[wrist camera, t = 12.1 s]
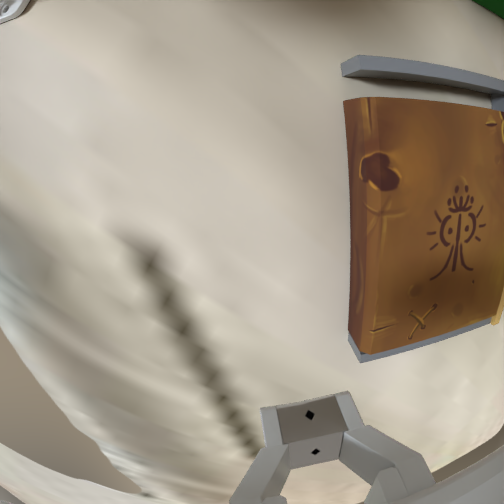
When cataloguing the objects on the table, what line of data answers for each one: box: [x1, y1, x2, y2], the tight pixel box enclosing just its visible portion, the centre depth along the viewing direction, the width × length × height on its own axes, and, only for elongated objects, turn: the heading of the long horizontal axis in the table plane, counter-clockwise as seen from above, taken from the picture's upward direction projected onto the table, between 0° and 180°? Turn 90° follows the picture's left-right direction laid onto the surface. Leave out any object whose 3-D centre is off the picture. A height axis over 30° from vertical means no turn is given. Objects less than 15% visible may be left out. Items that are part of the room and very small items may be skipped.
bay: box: [341, 55, 504, 363], centre depth 26 cm, size 20×28×5 cm
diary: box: [343, 97, 504, 355], centre depth 27 cm, size 23×19×6 cm
